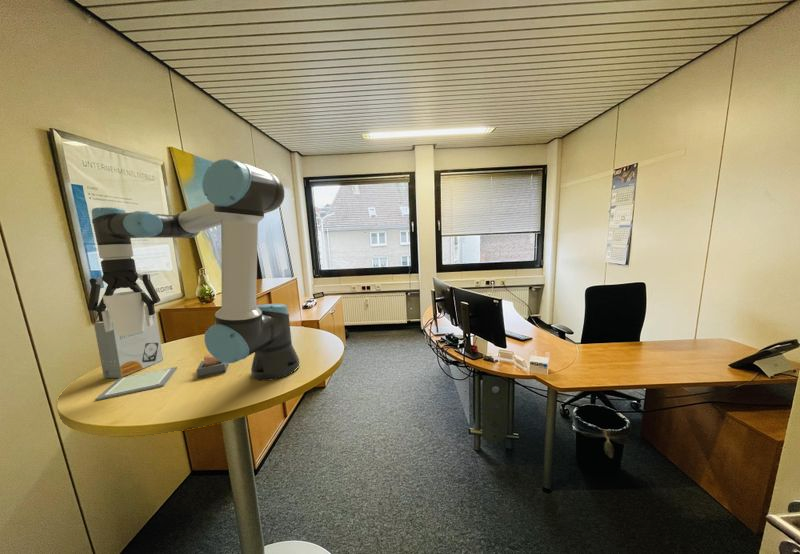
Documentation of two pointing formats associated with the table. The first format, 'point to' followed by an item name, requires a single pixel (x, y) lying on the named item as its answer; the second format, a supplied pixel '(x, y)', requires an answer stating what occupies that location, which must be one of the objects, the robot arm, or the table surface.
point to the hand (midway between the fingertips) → (130, 327)
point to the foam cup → (126, 312)
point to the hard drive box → (128, 349)
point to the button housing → (211, 369)
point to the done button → (210, 360)
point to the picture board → (138, 383)
